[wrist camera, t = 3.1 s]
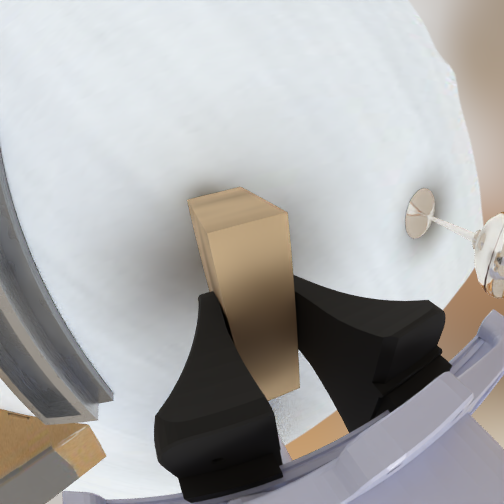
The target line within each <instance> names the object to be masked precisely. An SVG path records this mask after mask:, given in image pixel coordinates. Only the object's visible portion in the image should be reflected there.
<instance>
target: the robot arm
mask: <svg viewBox="0 0 504 504" xmlns="http://www.w3.org/2000/svg"><path fill="white" fill-rule="evenodd" d="M293 279H294V292H295V306H296V321H297V338H298V349H299V350H300V351H301V353H302V354H303V355H304V357H305V358H306V359H307V360H308V362H309V363H310V365H311V366H312V367H313V369H314V370H315V372H316V374H317V375H318V377H319V379H320V380H321V382H322V384H323V385H324V387H325V389H326V390H327V392H328V394H329V396H330V397H331V399H332V401H333V403H334V405H335V406H336V408H337V410H338V412H339V414H340V416H341V417H342V419H343V421H344V423H345V425H346V427H347V429H348V431H349V434H347V435H345V436H343V437H341V438H340V439H338V440H336V441H334V442H332V443H330V444H328V445H326V446H324V447H322V448H320V449H318V450H315V451H314V452H311V453H309V454H307V455H305V456H302V457H300V458H298V459H295V460H292V459H291V457H290V455H289V453H288V451H287V449H286V448H285V446H284V444H283V442H282V440H281V438H280V436H279V434H278V432H277V427H276V421H275V416H274V412H273V410H272V408H271V406H270V404H269V402H268V401H267V399H266V397H265V395H264V394H263V392H262V391H261V389H260V388H259V386H258V385H257V383H256V382H255V380H254V379H253V377H252V376H251V374H250V372H249V371H248V369H247V367H246V366H245V364H244V362H243V360H242V359H241V357H240V355H239V353H238V351H237V349H236V347H235V345H234V343H233V341H232V339H231V337H230V335H229V333H228V331H227V328H226V325H225V322H224V318H223V314H222V311H221V307H220V304H219V300H218V298H217V296H216V295H215V293H214V292H213V291H211V292H208V293H205V294H201V295H199V297H198V301H199V311H198V320H197V327H196V331H195V336H194V340H193V344H192V347H191V351H190V354H189V357H188V359H187V362H186V364H185V367H184V369H183V371H182V373H181V376H180V378H179V380H178V381H177V383H176V385H175V387H174V389H173V390H172V392H171V394H170V396H169V397H168V399H167V400H166V402H165V403H164V404H163V406H162V407H161V409H160V410H159V412H158V413H157V414H156V416H155V424H154V442H155V448H156V454H157V459H158V462H159V463H160V464H161V465H162V466H163V467H164V468H165V469H167V470H168V471H169V472H171V473H172V474H173V475H175V476H176V477H177V478H178V479H179V483H180V487H181V490H182V493H178V494H172V495H165V496H157V497H147V498H135V499H113V500H105V499H104V498H102V497H101V496H99V495H96V494H93V493H89V492H72V491H63V492H62V496H63V504H504V449H503V448H502V447H501V446H500V445H499V444H498V443H497V442H496V441H495V440H494V439H493V437H491V435H489V433H488V432H486V430H484V429H483V428H482V426H481V425H479V424H478V422H476V420H475V419H474V418H472V416H471V415H472V414H473V412H474V411H475V410H476V409H477V408H478V407H479V405H480V404H481V403H482V402H483V401H484V399H485V398H486V397H487V396H488V394H489V393H490V392H491V391H492V389H493V388H494V387H495V385H496V384H497V383H498V381H499V380H500V378H501V377H502V376H503V374H504V316H503V315H501V314H499V313H498V312H497V311H495V310H492V311H491V312H490V313H489V314H488V315H487V317H486V318H485V319H484V320H483V321H482V323H481V325H480V327H479V329H478V332H477V335H476V336H475V337H474V338H473V339H472V340H471V341H470V342H469V343H468V344H467V345H466V346H465V347H464V348H463V349H462V350H461V351H460V352H459V353H458V354H457V355H456V356H455V357H454V358H453V359H452V360H450V361H449V362H448V361H447V360H446V359H444V358H443V357H442V356H441V354H442V349H441V348H439V347H438V346H437V344H438V341H439V339H440V336H441V333H442V331H443V328H444V324H445V313H444V311H443V310H442V309H440V308H439V307H437V306H436V305H435V304H433V303H432V302H430V301H429V300H420V301H389V300H378V299H371V298H364V297H359V296H354V295H350V294H345V293H342V292H338V291H335V290H332V289H329V288H326V287H323V286H320V285H317V284H315V283H312V282H310V281H307V280H305V279H302V278H300V277H297V276H295V275H293Z"/></svg>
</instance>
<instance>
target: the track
mask: <svg viewBox="0 0 504 504" xmlns="http://www.w3.org/2000/svg"><path fill="white" fill-rule="evenodd" d="M0 378H1V379H2V380H3V382H4V383H5V384H6V385H7V386H8V387H9V389H10V390H11V391H12V392H13V393H14V394H15V395H16V396H17V397H18V398H19V400H20V401H21V402H22V403H23V404H24V405H25V406H26V407H27V408H28V409H29V410H30V411H31V412H32V413H33V414H34V415H35V416H36V417H37V418H38V419H39V420H41V421H42V422H43V423H44V424H45V425H54V424H68V423H78V422H87V421H96V420H98V403H103V402H109V401H113V393H112V391H111V390H110V389H109V387H108V386H107V385H106V384H105V382H104V381H103V380H102V378H101V377H100V376H99V374H98V373H97V372H96V370H95V369H94V367H93V366H92V365H91V363H90V362H89V360H88V359H87V357H86V356H85V354H84V353H83V352H82V350H81V348H80V347H79V345H78V344H77V342H76V341H75V339H74V338H73V336H72V334H71V333H70V331H69V329H68V328H67V326H66V324H65V323H64V321H63V319H62V317H61V316H60V314H59V312H58V310H57V308H56V307H55V305H54V303H53V301H52V299H51V297H50V295H49V293H48V291H47V289H46V287H45V285H44V283H43V281H42V279H41V277H40V275H39V272H38V270H37V268H36V266H35V263H34V261H33V259H32V256H31V254H30V251H29V249H28V246H27V244H26V241H25V238H24V236H23V233H22V230H21V227H20V224H19V222H18V218H17V215H16V212H15V209H14V206H13V202H12V199H11V195H10V192H9V188H8V184H7V180H6V175H5V171H4V166H3V162H2V156H1V151H0Z"/></svg>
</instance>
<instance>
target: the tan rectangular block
mask: <svg viewBox="0 0 504 504" xmlns="http://www.w3.org/2000/svg"><path fill="white" fill-rule="evenodd" d="M187 202H188V206H189V211H190V215H191V219H192V224H193V228H194V232H195V236H196V241H197V245H198V249H199V253H200V257H201V261H202V264H203V268H204V272H205V276H206V280H207V284H208V287H209V291H210V292H211V291H213V292H214V293H215V295H216V296H217V298H218V300H219V304H220V307H221V311H222V314H223V318H224V322H225V325H226V328H227V331H228V333H229V335H230V337H231V339H232V341H233V343H234V345H235V347H236V349H237V351H238V353H239V355H240V357H241V359H242V360H243V362H244V364H245V366H246V367H247V369H248V371H249V372H250V374H251V376H252V377H253V379H254V380H255V382H256V383H257V385H258V386H259V388H260V389H261V391H262V392H263V394H264V395H265V397H266V399H267V401H269V400H271V399H274V398H276V397H279V396H281V395H284V394H286V393H289V392H291V391H293V390H296V389H298V388H300V382H299V358H298V338H297V321H296V306H295V292H294V279H293V266H292V254H291V243H290V233H289V222H288V213H287V212H286V211H284V210H282V209H281V208H279V207H277V206H275V205H273V204H272V203H270V202H268V201H266V200H264V199H262V198H261V197H259V196H257V195H255V194H253V193H251V192H250V191H248V190H246V189H244V188H242V187H238V188H233V189H229V190H225V191H220V192H216V193H212V194H208V195H204V196H200V197H196V198H192V199H188V200H187Z"/></svg>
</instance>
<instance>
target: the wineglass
mask: <svg viewBox="0 0 504 504" xmlns="http://www.w3.org/2000/svg"><path fill="white" fill-rule="evenodd" d="M434 211H435V201H434V196H433V194H432V192H431V191H430V190H429V189H425V188H423V189H421V190H419V191H418V192H416V193H415V194H414V196H413V197H412V199H411V201H410V203H409V206H408V208H407V213H406V218H405V226H406V230H407V233H408V235H409V236H410V237H411V238H413V239H415V238H419V237H421V236H423V235H424V233H425V232H426V231H427V230H428V228H429V227H430V225H431V222H432V221H433V222H435V223H437V224H439V225H441V226H443V227H445V228H447V229H449V230H451V231H453V232H454V233H456V234H458V235H460V236H462V237H464V238H465V239H467V240H469V241H471V242H472V247H473V249H475V253H474V265H475V269H476V273H477V277H478V281H479V283H480V285H481V286H482V288H483V289H484V290H485V292H487V293H488V294H489V295H490V296H493V297H496V298H504V212H501V213H499V214H498V215H496V216H494V217H493V218H491V219H490V220H488V221H487V223H486V224H485V226H484V227H483V228H482V230H478V231H476V232H475V233H474V232H471V231H469V230H466V229H464V228H461V227H459V226H456V225H454V224H451V223H449V222H446V221H444V220H441V219H438V218H436V217H433V216H434Z"/></svg>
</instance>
